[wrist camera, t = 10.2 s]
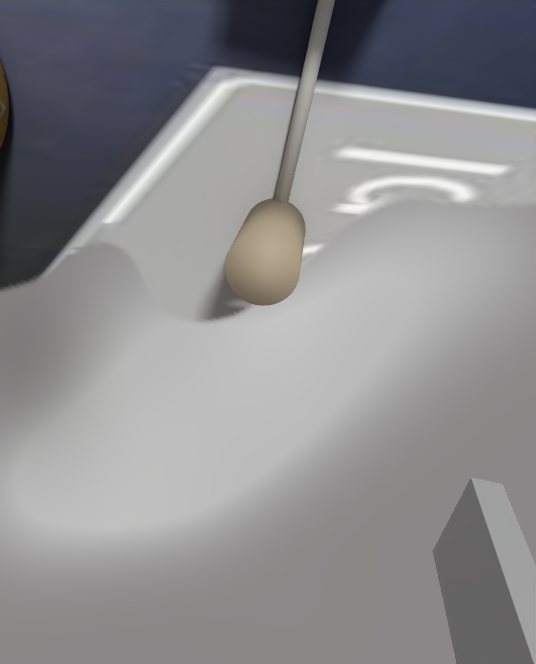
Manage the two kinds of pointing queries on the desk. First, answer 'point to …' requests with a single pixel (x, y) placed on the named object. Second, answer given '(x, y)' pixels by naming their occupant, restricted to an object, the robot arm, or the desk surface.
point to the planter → (3, 104)
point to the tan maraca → (279, 202)
